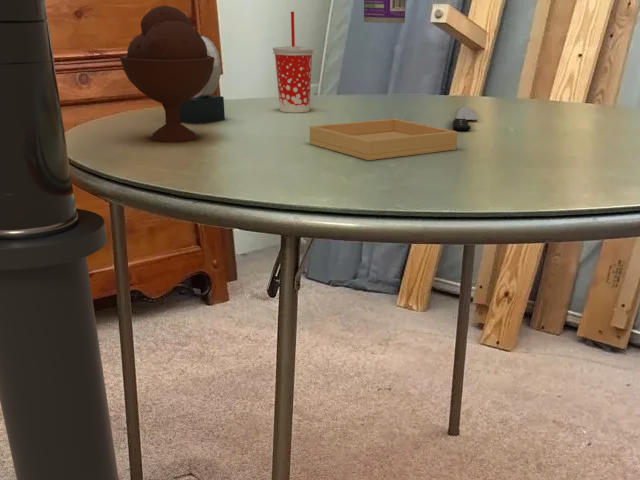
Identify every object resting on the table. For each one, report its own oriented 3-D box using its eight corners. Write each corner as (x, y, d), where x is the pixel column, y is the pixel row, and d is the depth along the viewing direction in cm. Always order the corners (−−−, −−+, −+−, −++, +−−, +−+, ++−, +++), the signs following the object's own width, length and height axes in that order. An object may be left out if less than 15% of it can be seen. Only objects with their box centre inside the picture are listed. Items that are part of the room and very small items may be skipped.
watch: (194, 115, 117) (187, 34, 112) (233, 120, 113) (228, 36, 108) (164, 119, 113) (156, 35, 108) (204, 125, 108) (198, 38, 104)
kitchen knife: (472, 131, 108) (472, 127, 108) (449, 130, 108) (450, 127, 108) (479, 107, 128) (479, 104, 128) (460, 107, 129) (461, 103, 128)
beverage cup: (306, 114, 120) (304, 12, 114) (268, 111, 121) (264, 11, 115) (320, 109, 125) (319, 11, 119) (284, 106, 127) (281, 10, 121)
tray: (368, 160, 89) (368, 141, 88) (309, 143, 97) (309, 126, 96) (456, 149, 96) (457, 131, 95) (394, 134, 104) (395, 118, 104)
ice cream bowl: (113, 136, 99) (96, 4, 93) (191, 128, 106) (182, 4, 100) (154, 148, 92) (140, 7, 86) (235, 139, 99) (228, 7, 92)
